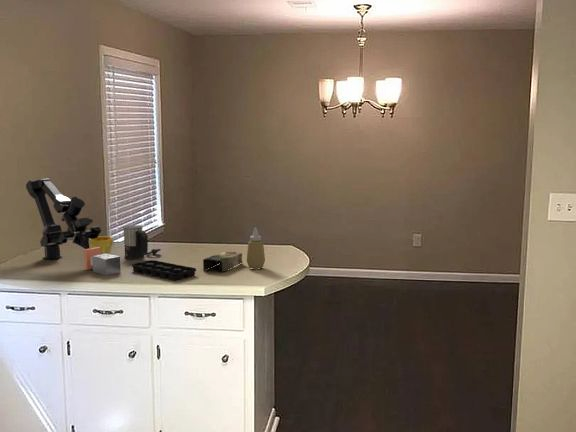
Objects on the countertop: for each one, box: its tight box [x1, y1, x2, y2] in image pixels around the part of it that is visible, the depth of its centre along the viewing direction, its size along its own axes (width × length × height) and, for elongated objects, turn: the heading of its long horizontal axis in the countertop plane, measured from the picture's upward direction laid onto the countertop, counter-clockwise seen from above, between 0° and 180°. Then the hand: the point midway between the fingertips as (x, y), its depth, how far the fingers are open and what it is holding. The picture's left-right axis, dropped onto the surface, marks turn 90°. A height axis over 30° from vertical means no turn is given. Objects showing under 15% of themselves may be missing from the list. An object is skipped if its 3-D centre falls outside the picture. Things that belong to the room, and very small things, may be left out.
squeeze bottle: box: [246, 227, 266, 269], centre depth 294 cm, size 8×8×18 cm
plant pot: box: [89, 235, 114, 254], centre depth 316 cm, size 10×10×10 cm
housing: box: [92, 253, 122, 276], centre depth 289 cm, size 10×7×7 cm
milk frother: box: [122, 224, 161, 260], centre depth 321 cm, size 14×16×15 cm
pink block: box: [83, 247, 101, 271], centre depth 293 cm, size 10×7×9 cm, turn 49°
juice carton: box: [202, 251, 243, 273], centre depth 298 cm, size 20×10×6 cm, turn 156°
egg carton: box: [131, 259, 197, 282], centre depth 287 cm, size 18×30×4 cm, turn 64°
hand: (88, 249), depth 297 cm, fingers closed
